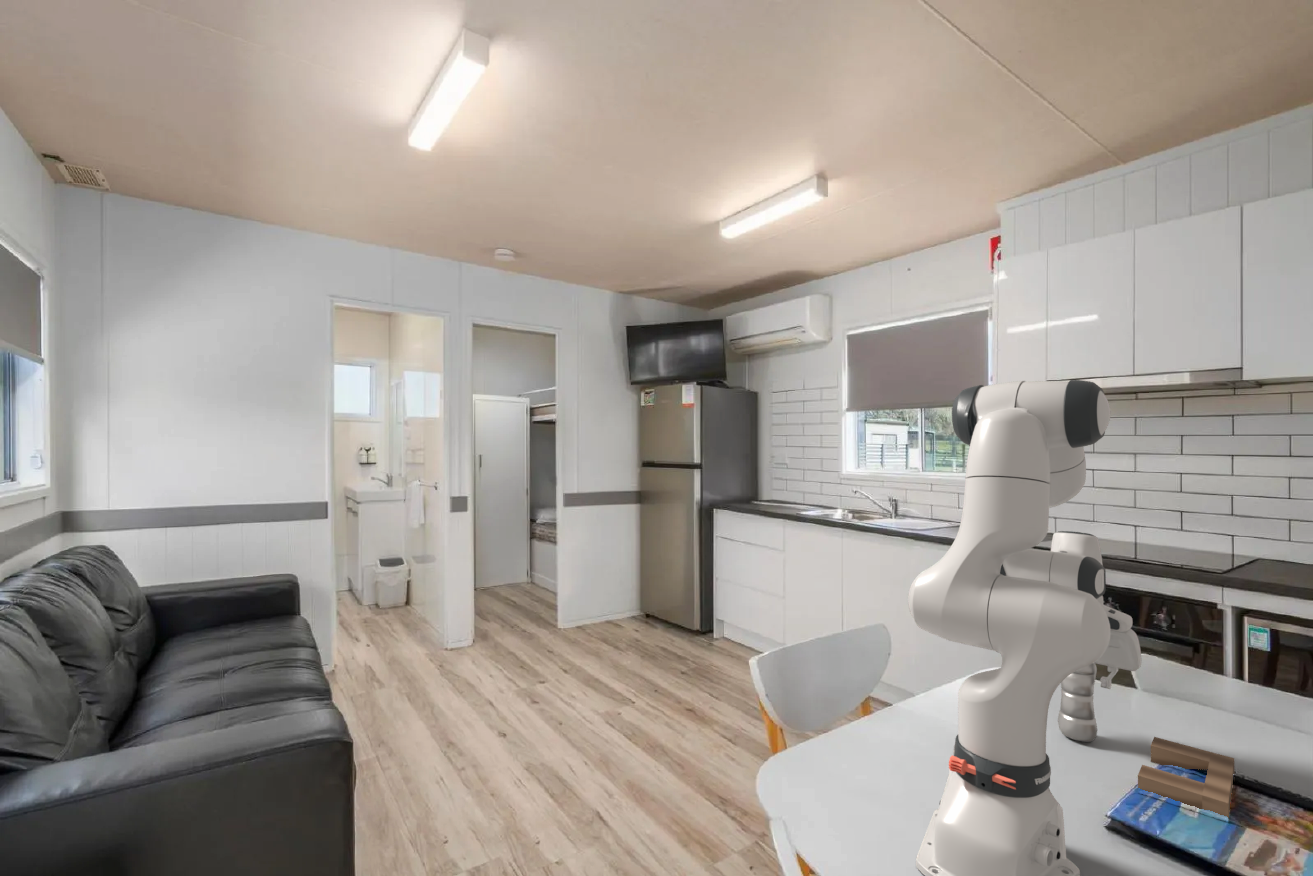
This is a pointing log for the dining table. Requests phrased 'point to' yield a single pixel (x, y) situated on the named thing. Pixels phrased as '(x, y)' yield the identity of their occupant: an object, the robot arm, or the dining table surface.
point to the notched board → (1184, 789)
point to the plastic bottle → (1078, 705)
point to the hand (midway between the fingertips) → (1076, 680)
